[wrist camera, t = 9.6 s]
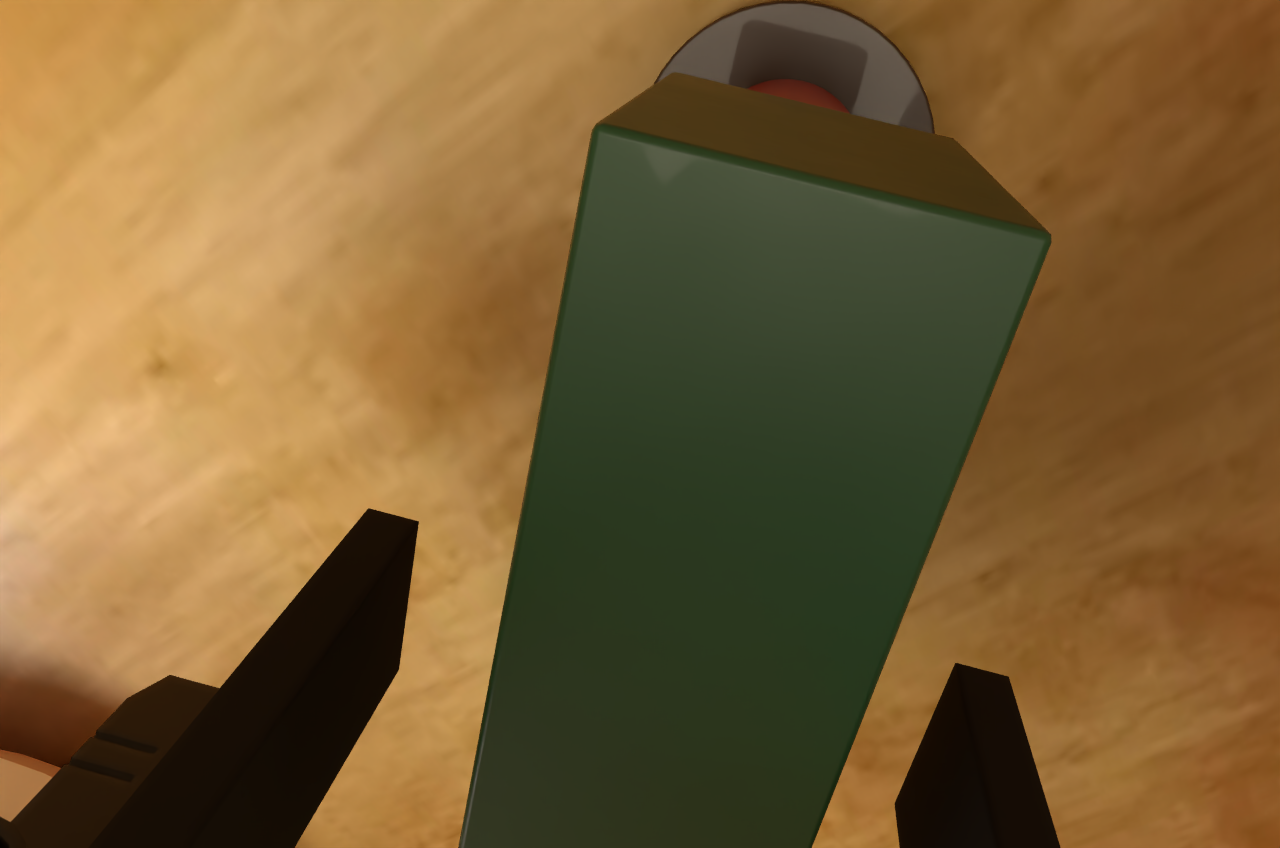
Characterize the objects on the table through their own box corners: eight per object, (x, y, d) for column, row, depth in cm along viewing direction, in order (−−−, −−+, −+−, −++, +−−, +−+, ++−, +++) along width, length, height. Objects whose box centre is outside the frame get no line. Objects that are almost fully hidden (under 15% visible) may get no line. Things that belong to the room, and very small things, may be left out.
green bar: (958, 138, 12) (1056, 235, 7) (663, 1006, 18) (619, 1338, 14) (670, 69, 12) (591, 121, 7) (481, 955, 19) (379, 1266, 14)
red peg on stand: (973, 39, 19) (1098, 77, 11) (878, 324, 22) (926, 523, 14) (674, -31, 20) (586, -43, 12) (615, 259, 22) (508, 416, 14)
